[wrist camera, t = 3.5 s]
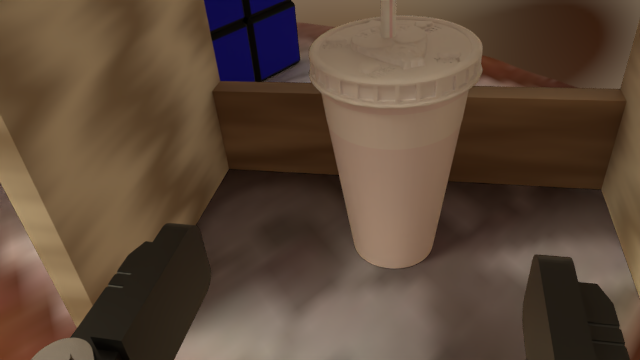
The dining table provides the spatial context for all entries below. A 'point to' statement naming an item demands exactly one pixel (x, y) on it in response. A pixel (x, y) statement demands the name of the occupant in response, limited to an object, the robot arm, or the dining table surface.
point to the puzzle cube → (252, 37)
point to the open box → (235, 133)
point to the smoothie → (394, 124)
